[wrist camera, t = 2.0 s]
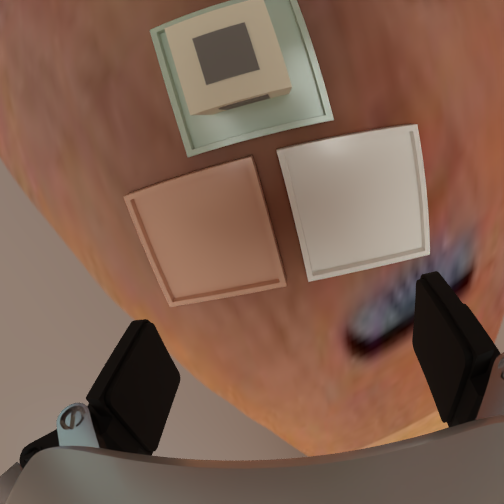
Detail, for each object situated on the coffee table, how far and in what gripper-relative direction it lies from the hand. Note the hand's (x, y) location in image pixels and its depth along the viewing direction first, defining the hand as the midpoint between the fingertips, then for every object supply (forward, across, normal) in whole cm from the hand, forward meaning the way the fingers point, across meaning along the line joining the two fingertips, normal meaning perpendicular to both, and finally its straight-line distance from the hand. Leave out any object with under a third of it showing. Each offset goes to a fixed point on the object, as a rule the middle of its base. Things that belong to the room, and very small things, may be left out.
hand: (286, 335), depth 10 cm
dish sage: (+12, 0, -10) cm, 16 cm away
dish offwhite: (+12, -5, 0) cm, 13 cm away
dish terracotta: (+12, +6, 0) cm, 13 cm away
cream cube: (+12, 0, -10) cm, 16 cm away
